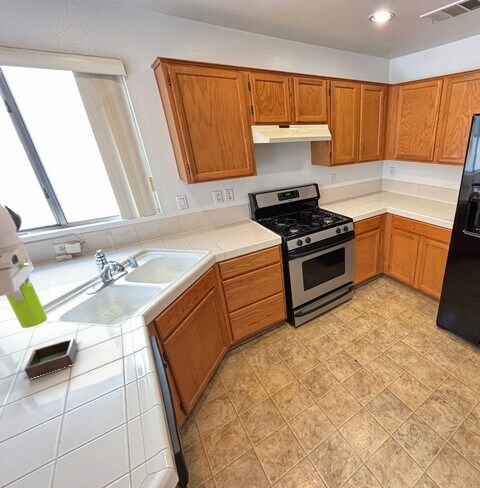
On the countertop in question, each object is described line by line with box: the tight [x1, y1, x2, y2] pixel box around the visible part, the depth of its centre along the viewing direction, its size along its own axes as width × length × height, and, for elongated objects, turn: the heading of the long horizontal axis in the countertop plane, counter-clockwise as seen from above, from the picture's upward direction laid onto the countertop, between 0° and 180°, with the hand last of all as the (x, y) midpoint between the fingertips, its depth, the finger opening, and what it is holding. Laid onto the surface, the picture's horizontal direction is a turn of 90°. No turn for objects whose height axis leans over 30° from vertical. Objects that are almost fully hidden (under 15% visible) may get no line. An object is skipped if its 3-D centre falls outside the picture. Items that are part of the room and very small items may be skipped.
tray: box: [24, 337, 79, 380], centre depth 91 cm, size 11×11×5 cm
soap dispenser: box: [5, 263, 48, 329], centre depth 83 cm, size 6×7×20 cm
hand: (24, 294), depth 82 cm, fingers closed on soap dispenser, 6 cm apart
